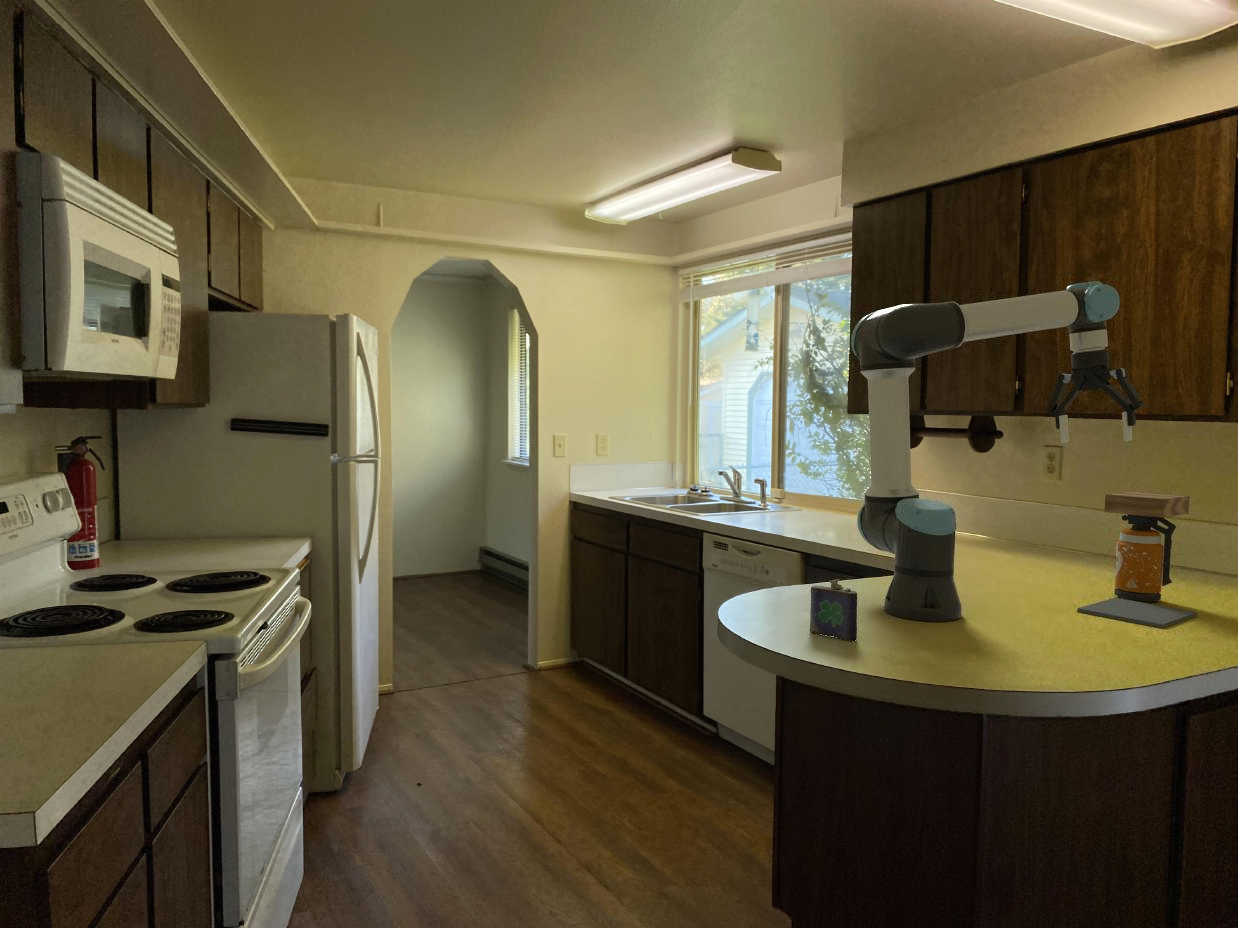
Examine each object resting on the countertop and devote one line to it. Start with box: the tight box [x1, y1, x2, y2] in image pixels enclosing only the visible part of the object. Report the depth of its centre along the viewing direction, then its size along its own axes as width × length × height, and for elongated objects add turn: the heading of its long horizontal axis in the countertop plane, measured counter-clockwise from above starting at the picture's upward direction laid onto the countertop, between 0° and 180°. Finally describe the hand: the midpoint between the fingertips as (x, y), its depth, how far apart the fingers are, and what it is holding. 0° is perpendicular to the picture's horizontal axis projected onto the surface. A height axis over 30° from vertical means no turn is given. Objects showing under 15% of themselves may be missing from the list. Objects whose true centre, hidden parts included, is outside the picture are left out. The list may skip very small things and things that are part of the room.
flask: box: [809, 578, 858, 642], centre depth 150 cm, size 9×3×11 cm, turn 48°
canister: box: [1113, 514, 1177, 604], centre depth 183 cm, size 9×11×20 cm
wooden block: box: [1104, 491, 1190, 519], centre depth 182 cm, size 14×12×4 cm
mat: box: [1076, 597, 1198, 629], centre depth 170 cm, size 18×16×1 cm
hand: (1095, 441), depth 187 cm, fingers open, 13 cm apart
